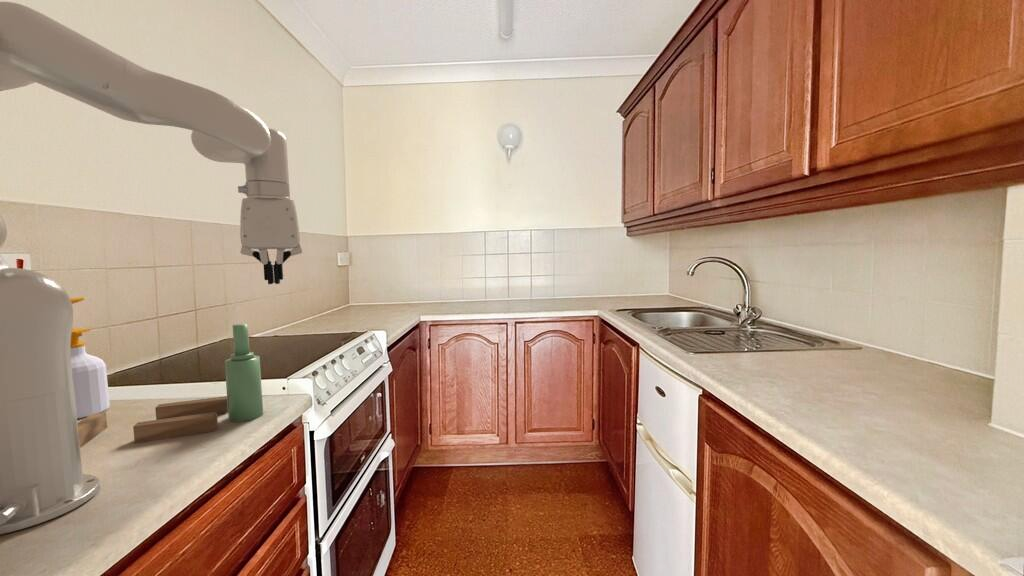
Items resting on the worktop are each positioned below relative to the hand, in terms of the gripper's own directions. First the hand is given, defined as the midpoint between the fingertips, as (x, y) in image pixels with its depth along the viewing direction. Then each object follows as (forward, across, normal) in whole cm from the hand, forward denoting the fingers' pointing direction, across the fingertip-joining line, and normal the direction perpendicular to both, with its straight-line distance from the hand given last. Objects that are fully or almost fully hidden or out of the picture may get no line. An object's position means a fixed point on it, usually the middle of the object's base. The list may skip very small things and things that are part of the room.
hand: (274, 283), depth 87 cm
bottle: (+27, -6, 0) cm, 28 cm away
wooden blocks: (+27, -21, 0) cm, 35 cm away
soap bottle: (+27, -40, +17) cm, 51 cm away
